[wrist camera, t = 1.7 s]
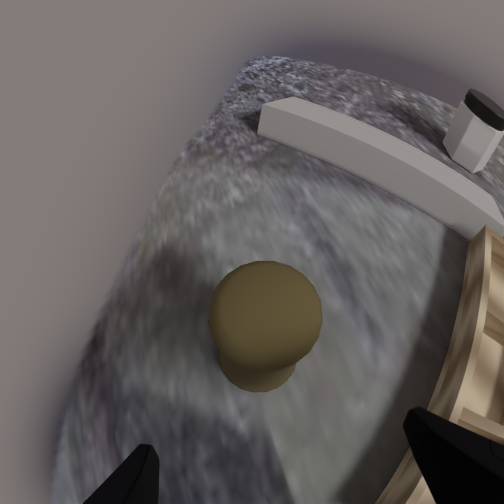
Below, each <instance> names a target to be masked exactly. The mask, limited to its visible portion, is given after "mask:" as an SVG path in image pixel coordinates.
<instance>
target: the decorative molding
mask: <svg viewBox="0 0 504 504" xmlns="http://www.w3.org/2000/svg"><path fill="white" fill-rule="evenodd" d="M257 135H259V136H262V137H265V138H268V139H270V140H273V141H276V142H278V143H281V144H283V145H286V146H288V147H291V148H293V149H296V150H298V151H301V152H303V153H306V154H308V155H310V156H313V157H316V158H318V159H320V160H322V161H325V162H327V163H329V164H331V165H334V166H336V167H338V168H340V169H342V170H344V171H347V172H349V173H351V174H353V175H355V176H357V177H359V178H361V179H363V180H365V181H367V182H369V183H371V184H373V185H375V186H377V187H379V188H381V189H383V190H385V191H386V192H388V193H390V194H392V195H394V196H396V197H398V198H400V199H402V200H403V201H405V202H407V203H409V204H410V205H412V206H414V207H416V208H417V209H419V210H421V211H423V212H424V213H426V214H428V215H429V216H431V217H433V218H434V219H436V220H438V221H439V222H441V223H443V224H444V225H446V226H447V227H449V228H450V229H452V230H453V231H455V232H456V233H458V234H459V235H461V236H462V237H464V238H465V239H467V240H468V241H471V240H472V239H473V238H474V237H475V236H476V235H477V233H478V232H479V231H480V230H481V229H482V228H483V227H484V226H485V224H486V225H487V226H488V227H490V228H491V229H492V230H494V231H495V232H496V233H497V234H499V235H500V236H501V237H503V236H504V220H503V217H502V215H501V213H500V211H499V209H498V207H497V205H496V203H495V201H494V199H493V197H492V196H491V195H489V194H488V193H487V192H485V191H484V190H483V189H481V188H480V187H478V186H477V185H475V184H474V183H473V182H471V181H470V180H468V179H467V178H465V177H464V176H462V175H461V174H459V173H457V172H456V171H454V170H453V169H451V168H450V167H448V166H446V165H445V164H443V163H441V162H440V161H438V160H436V159H435V158H433V157H431V156H429V155H428V154H426V153H424V152H422V151H420V150H419V149H417V148H415V147H413V146H411V145H409V144H407V143H405V142H403V141H401V140H399V139H397V138H395V137H393V136H391V135H389V134H387V133H385V132H383V131H381V130H379V129H377V128H374V127H372V126H370V125H368V124H365V123H363V122H361V121H358V120H356V119H354V118H351V117H349V116H346V115H344V114H341V113H339V112H336V111H334V110H331V109H328V108H326V107H323V106H320V105H317V104H314V103H311V102H309V101H306V100H303V99H299V98H296V97H290V98H286V99H282V100H277V101H273V102H269V103H265V104H263V105H262V110H261V116H260V121H259V126H258V132H257Z"/></svg>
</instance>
